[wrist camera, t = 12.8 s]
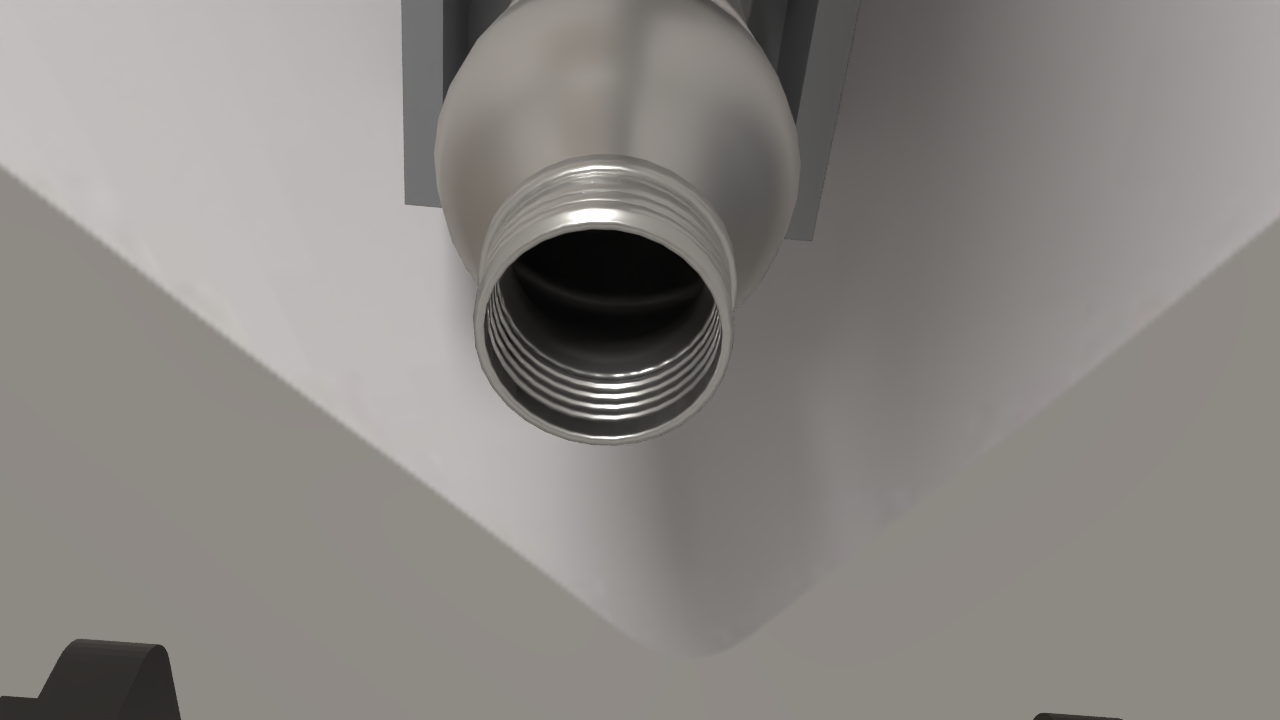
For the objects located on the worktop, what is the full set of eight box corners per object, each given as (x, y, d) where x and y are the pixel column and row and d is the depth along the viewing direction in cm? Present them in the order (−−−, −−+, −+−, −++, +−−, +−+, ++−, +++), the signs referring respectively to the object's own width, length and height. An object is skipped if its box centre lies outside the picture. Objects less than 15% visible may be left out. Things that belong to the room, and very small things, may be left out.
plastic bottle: (750, -202, 31) (847, 83, 14) (756, 54, 34) (839, 515, 18) (501, -181, 31) (311, 119, 14) (535, 69, 35) (413, 535, 18)
